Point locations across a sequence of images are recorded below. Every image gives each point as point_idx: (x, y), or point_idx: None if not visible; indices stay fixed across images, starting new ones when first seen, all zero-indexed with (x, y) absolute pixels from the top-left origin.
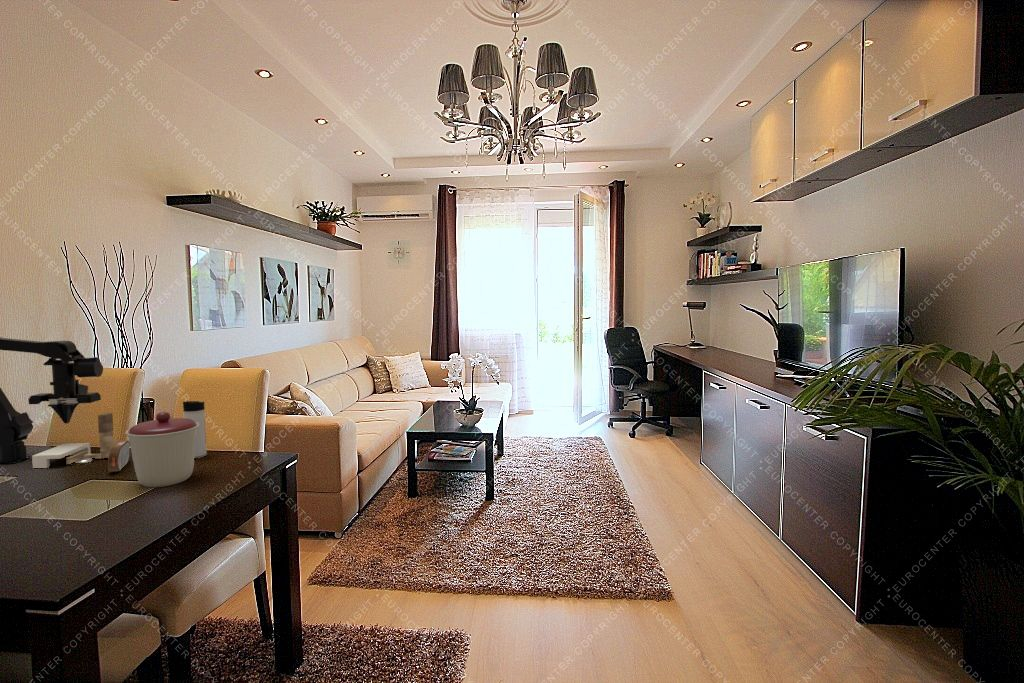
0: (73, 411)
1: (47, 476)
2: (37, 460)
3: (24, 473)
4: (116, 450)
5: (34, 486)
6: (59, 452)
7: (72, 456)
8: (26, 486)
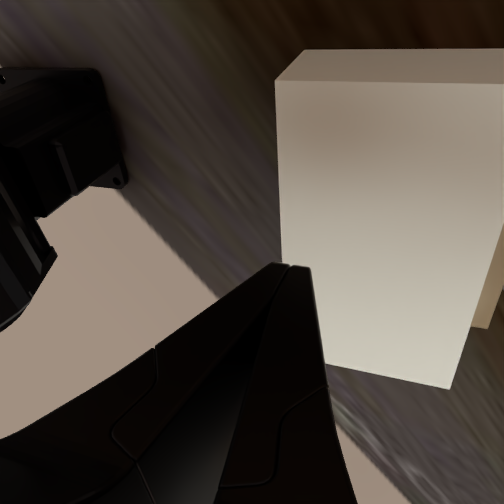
0: (334, 422)
1: (448, 411)
2: None
3: None
4: None
5: (463, 488)
6: (412, 340)
7: (484, 297)
8: (432, 477)
